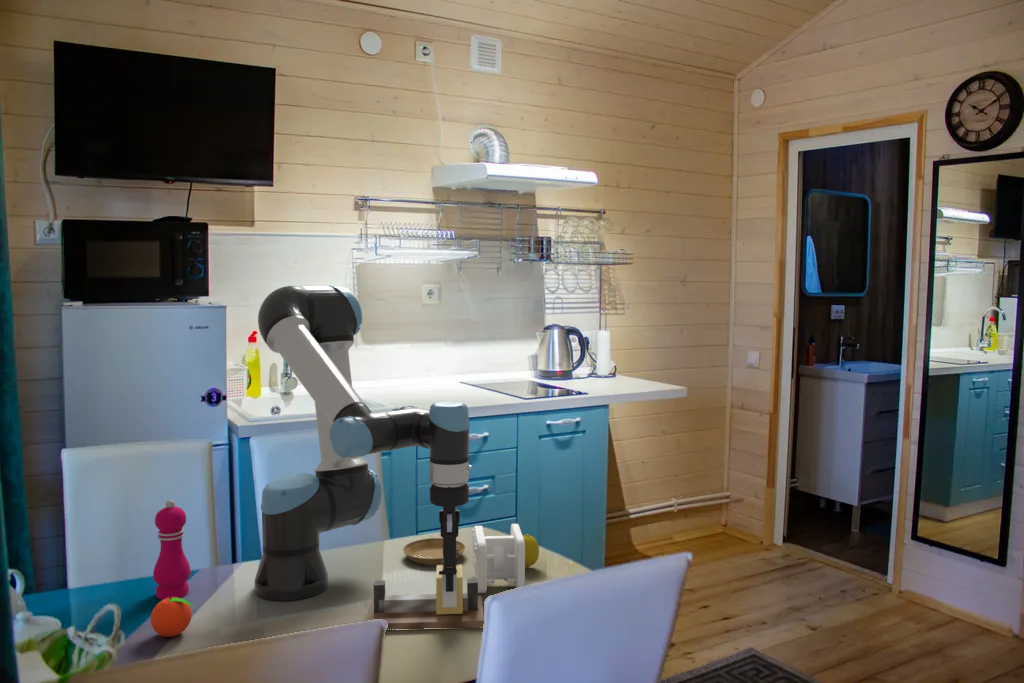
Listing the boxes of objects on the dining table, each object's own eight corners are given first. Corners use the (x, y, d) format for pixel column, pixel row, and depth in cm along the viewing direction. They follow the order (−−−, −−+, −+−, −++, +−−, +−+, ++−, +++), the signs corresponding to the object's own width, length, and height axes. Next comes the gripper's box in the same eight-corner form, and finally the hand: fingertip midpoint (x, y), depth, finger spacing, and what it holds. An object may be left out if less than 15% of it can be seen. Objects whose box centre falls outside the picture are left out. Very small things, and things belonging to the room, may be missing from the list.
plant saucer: (427, 574, 179) (427, 562, 179) (390, 557, 190) (390, 546, 189) (478, 559, 189) (478, 548, 189) (440, 544, 200) (440, 534, 199)
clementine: (203, 627, 150) (203, 590, 149) (187, 644, 143) (186, 605, 143) (162, 626, 150) (161, 589, 150) (143, 643, 143) (142, 604, 143)
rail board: (366, 631, 148) (365, 595, 148) (372, 605, 160) (371, 571, 160) (484, 628, 150) (484, 592, 150) (481, 602, 162) (481, 569, 162)
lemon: (543, 567, 183) (543, 533, 182) (530, 574, 178) (530, 539, 178) (523, 562, 186) (523, 528, 185) (509, 569, 181) (510, 534, 181)
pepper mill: (147, 594, 166) (145, 499, 164) (181, 584, 171) (179, 493, 170) (162, 603, 161) (160, 506, 159) (197, 593, 166) (195, 499, 165)
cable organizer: (525, 597, 165) (526, 542, 165) (475, 599, 164) (475, 544, 163) (518, 571, 180) (518, 521, 179) (471, 572, 179) (471, 522, 178)
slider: (436, 614, 152) (436, 578, 151) (436, 599, 159) (436, 565, 158) (462, 613, 152) (462, 577, 152) (461, 599, 159) (462, 564, 159)
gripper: (470, 496, 144) (470, 619, 145) (467, 469, 165) (467, 576, 166) (428, 497, 143) (428, 620, 145) (431, 470, 164) (431, 577, 166)
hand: (449, 597), depth 155 cm, fingers open, 8 cm apart
